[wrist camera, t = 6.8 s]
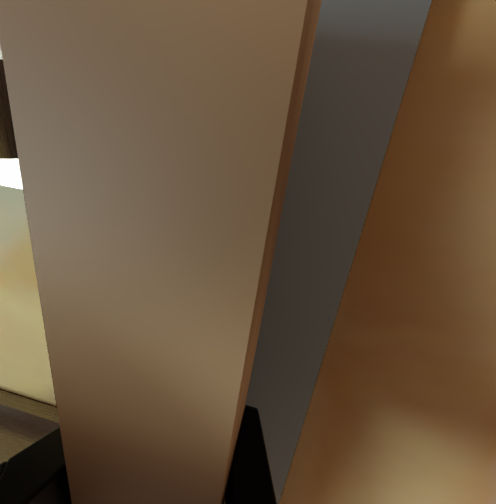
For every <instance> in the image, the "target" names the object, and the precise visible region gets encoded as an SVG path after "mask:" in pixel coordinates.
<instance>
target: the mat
mask: <svg viewBox="0 0 496 504" xmlns="http://www.w3.org/2000/svg"><path fill="white" fill-rule="evenodd" d="M431 2H432V0H322V2H321V7H320V12H319V18H318V23H317V28H316V34H315V39H314V44H313V49H312V55H311V60H310V65H309V71H308V76H307V81H306V86H305V92H304V97H303V102H302V108H301V113H300V118H299V124H298V129H297V134H296V139H295V145H294V150H293V155H292V161H291V166H290V171H289V176H288V182H287V187H286V192H285V198H284V203H283V208H282V213H281V219H280V224H279V229H278V235H277V240H276V245H275V250H274V256H273V261H272V266H271V272H270V277H269V282H268V287H267V293H266V298H265V303H264V309H263V314H262V319H261V324H260V330H259V335H258V340H257V346H256V351H255V356H254V362H253V367H252V372H251V377H250V383H249V388H248V393H247V399H246V404H245V405H249V406H253V407H256V408H257V409H258V411H259V416H260V421H261V426H262V431H263V436H264V441H265V446H266V451H267V456H268V461H269V466H270V471H271V476H272V481H273V486H274V491H275V496H276V501H277V504H279V502H280V498H281V495H282V492H283V488H284V485H285V482H286V479H287V475H288V472H289V469H290V465H291V462H292V459H293V456H294V452H295V449H296V446H297V442H298V439H299V436H300V433H301V429H302V426H303V423H304V419H305V416H306V413H307V410H308V406H309V403H310V400H311V396H312V393H313V390H314V387H315V383H316V380H317V377H318V373H319V370H320V367H321V364H322V360H323V357H324V354H325V350H326V347H327V344H328V341H329V337H330V334H331V331H332V327H333V324H334V321H335V318H336V314H337V311H338V308H339V304H340V301H341V298H342V295H343V291H344V288H345V285H346V281H347V278H348V275H349V272H350V268H351V265H352V262H353V258H354V255H355V252H356V249H357V245H358V242H359V239H360V235H361V232H362V229H363V226H364V222H365V219H366V216H367V212H368V209H369V206H370V203H371V199H372V196H373V193H374V189H375V186H376V183H377V180H378V176H379V173H380V170H381V166H382V163H383V160H384V156H385V153H386V150H387V147H388V143H389V140H390V137H391V133H392V130H393V127H394V124H395V120H396V117H397V114H398V110H399V107H400V104H401V101H402V97H403V94H404V91H405V87H406V84H407V81H408V78H409V74H410V71H411V68H412V64H413V61H414V58H415V55H416V51H417V48H418V45H419V41H420V38H421V35H422V32H423V28H424V25H425V22H426V18H427V15H428V12H429V9H430V5H431Z"/></svg>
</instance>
